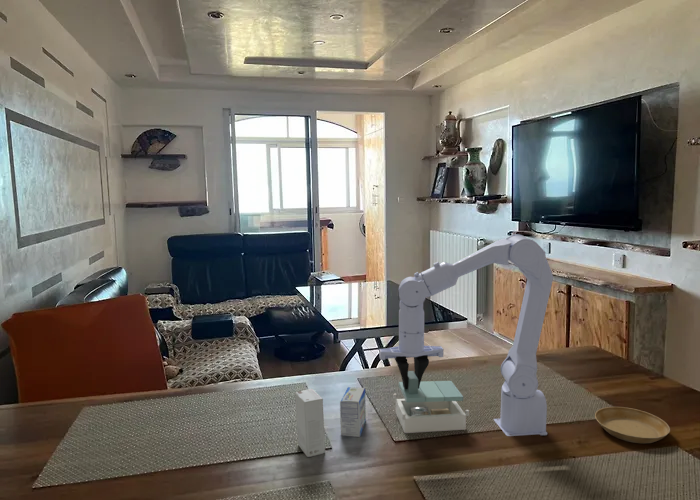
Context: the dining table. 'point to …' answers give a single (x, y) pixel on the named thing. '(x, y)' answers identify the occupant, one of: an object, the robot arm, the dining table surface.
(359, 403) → the medicine box
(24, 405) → the dining table surface
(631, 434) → the plant saucer
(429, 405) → the tub
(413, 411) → the metal roller
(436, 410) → the oak block
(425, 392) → the three-panel mint board
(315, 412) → the skincare box
